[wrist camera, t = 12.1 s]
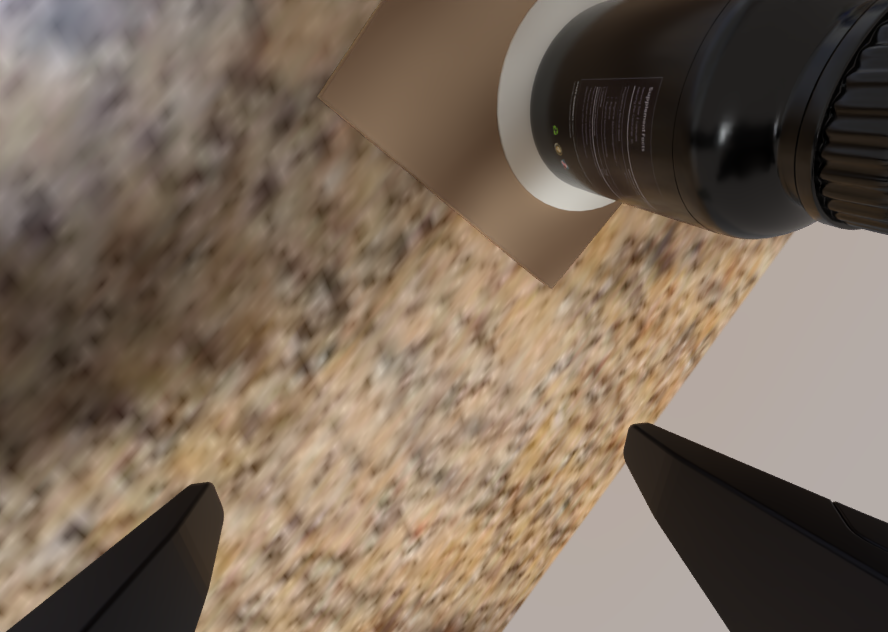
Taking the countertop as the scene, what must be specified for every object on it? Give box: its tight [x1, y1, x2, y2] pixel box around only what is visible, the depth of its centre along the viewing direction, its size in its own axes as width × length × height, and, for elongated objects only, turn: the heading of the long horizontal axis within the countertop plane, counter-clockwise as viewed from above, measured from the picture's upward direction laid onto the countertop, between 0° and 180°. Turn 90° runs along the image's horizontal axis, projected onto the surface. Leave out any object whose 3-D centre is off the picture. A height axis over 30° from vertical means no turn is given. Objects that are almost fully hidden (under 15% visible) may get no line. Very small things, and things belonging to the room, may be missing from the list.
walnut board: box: [317, 0, 622, 289], centre depth 18 cm, size 13×16×2 cm
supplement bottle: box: [530, 0, 888, 239], centre depth 13 cm, size 7×7×12 cm
